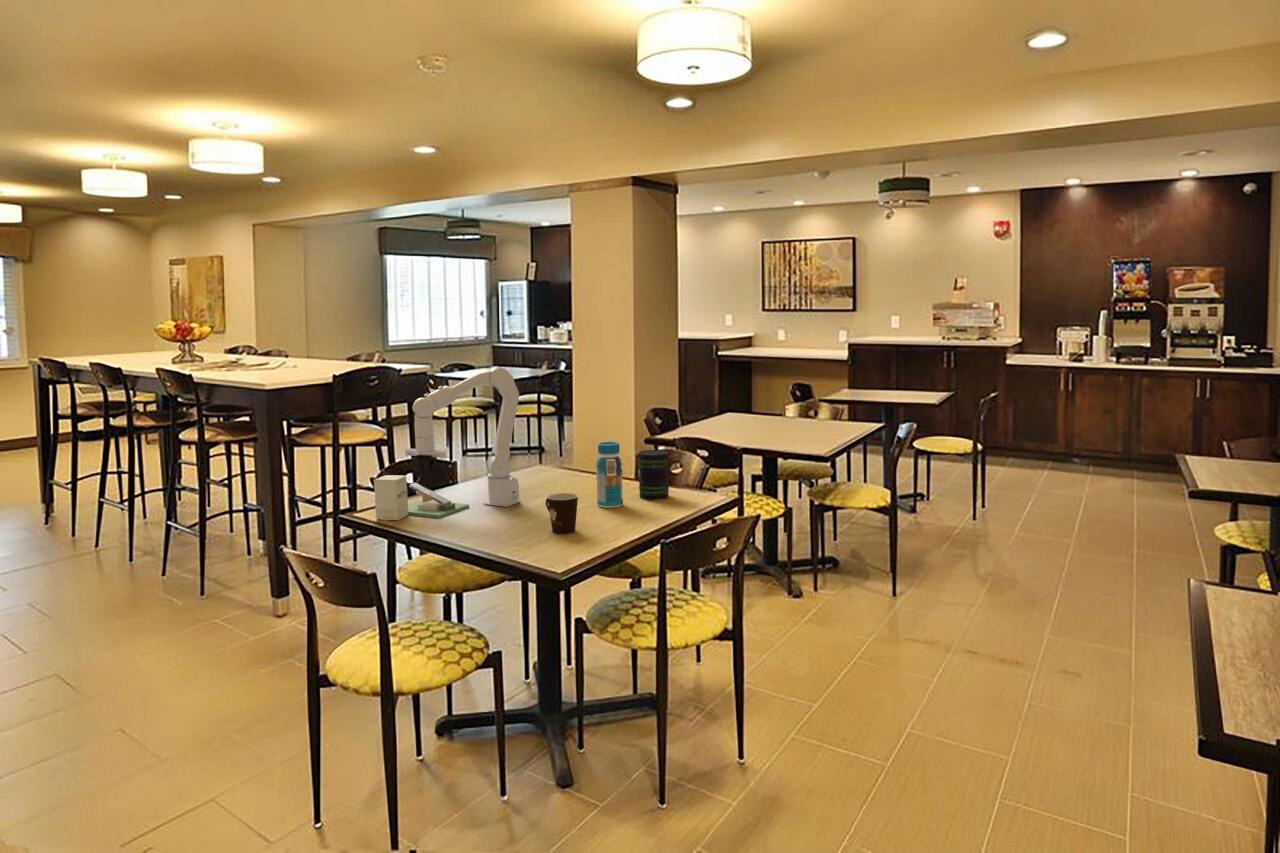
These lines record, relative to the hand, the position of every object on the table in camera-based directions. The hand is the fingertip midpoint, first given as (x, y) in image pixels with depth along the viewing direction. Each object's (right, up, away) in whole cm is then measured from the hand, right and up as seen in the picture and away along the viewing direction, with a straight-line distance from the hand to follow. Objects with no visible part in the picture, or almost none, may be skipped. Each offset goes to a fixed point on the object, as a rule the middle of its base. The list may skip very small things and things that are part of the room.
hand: (427, 479), depth 267 cm
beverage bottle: (+57, -9, +3) cm, 58 cm away
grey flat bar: (+1, -5, 0) cm, 5 cm away
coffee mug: (+45, -13, -25) cm, 53 cm away
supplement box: (-9, -12, -8) cm, 16 cm away
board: (+1, -10, +1) cm, 10 cm away
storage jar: (+72, -7, +13) cm, 73 cm away
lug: (-2, -8, +8) cm, 11 cm away
